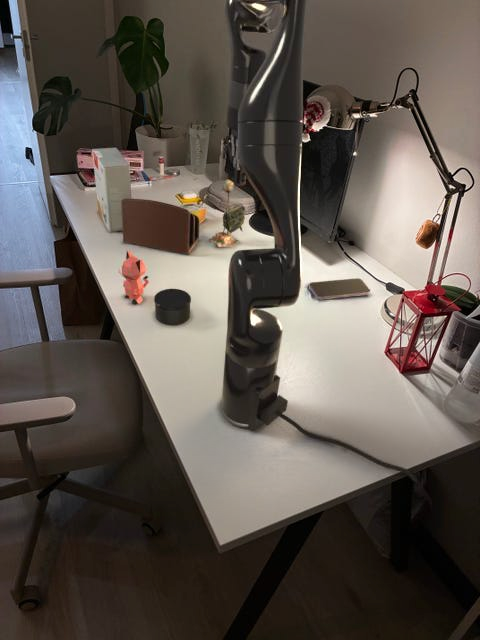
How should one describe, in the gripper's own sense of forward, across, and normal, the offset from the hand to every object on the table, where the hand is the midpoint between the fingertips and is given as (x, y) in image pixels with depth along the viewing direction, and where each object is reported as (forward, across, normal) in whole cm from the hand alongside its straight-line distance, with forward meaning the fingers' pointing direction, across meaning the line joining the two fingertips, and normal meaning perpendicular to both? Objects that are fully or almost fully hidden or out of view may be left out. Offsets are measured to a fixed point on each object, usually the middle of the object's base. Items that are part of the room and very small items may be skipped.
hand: (239, 184), depth 114 cm
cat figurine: (+27, -2, -25) cm, 37 cm away
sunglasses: (+27, -43, +2) cm, 51 cm away
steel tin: (+27, +8, -18) cm, 34 cm away
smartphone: (+27, +11, +26) cm, 39 cm away
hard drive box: (+27, -46, -18) cm, 57 cm away
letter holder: (+27, -29, -9) cm, 41 cm away
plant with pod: (+27, -23, +9) cm, 37 cm away
